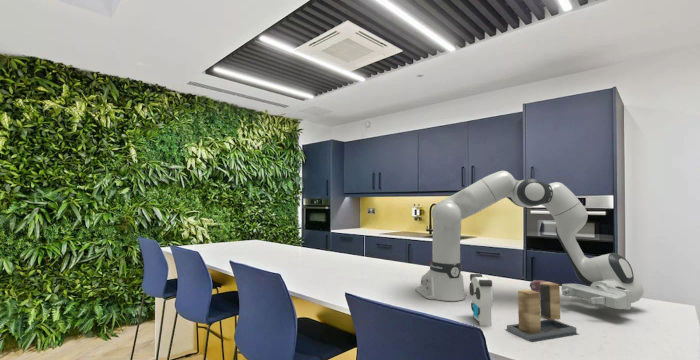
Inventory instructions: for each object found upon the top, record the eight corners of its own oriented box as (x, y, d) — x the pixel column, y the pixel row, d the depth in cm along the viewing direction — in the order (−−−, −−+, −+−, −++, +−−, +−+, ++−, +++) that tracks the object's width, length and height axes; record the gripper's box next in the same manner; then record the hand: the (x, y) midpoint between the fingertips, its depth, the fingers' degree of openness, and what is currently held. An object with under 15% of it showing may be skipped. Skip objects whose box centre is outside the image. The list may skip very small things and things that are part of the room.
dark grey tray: (504, 332, 104) (504, 324, 105) (549, 326, 111) (549, 317, 111) (532, 346, 95) (531, 336, 95) (579, 337, 101) (579, 328, 101)
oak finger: (539, 319, 117) (539, 282, 118) (549, 317, 118) (548, 281, 119) (550, 323, 113) (549, 285, 114) (560, 321, 115) (559, 284, 115)
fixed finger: (518, 331, 103) (518, 290, 103) (530, 330, 104) (529, 289, 105) (530, 337, 99) (529, 293, 99) (541, 335, 100) (540, 292, 101)
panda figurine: (458, 317, 118) (458, 272, 119) (493, 318, 117) (492, 273, 118) (469, 331, 106) (468, 280, 107) (507, 332, 105) (506, 281, 106)
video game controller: (530, 295, 152) (527, 282, 151) (532, 289, 156) (530, 275, 154) (555, 300, 146) (553, 286, 144) (558, 293, 149) (555, 279, 147)
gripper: (576, 278, 135) (549, 280, 130) (635, 291, 116) (606, 295, 111) (577, 295, 135) (550, 298, 130) (635, 311, 115) (606, 315, 111)
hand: (576, 296), depth 120 cm, fingers open, 8 cm apart
